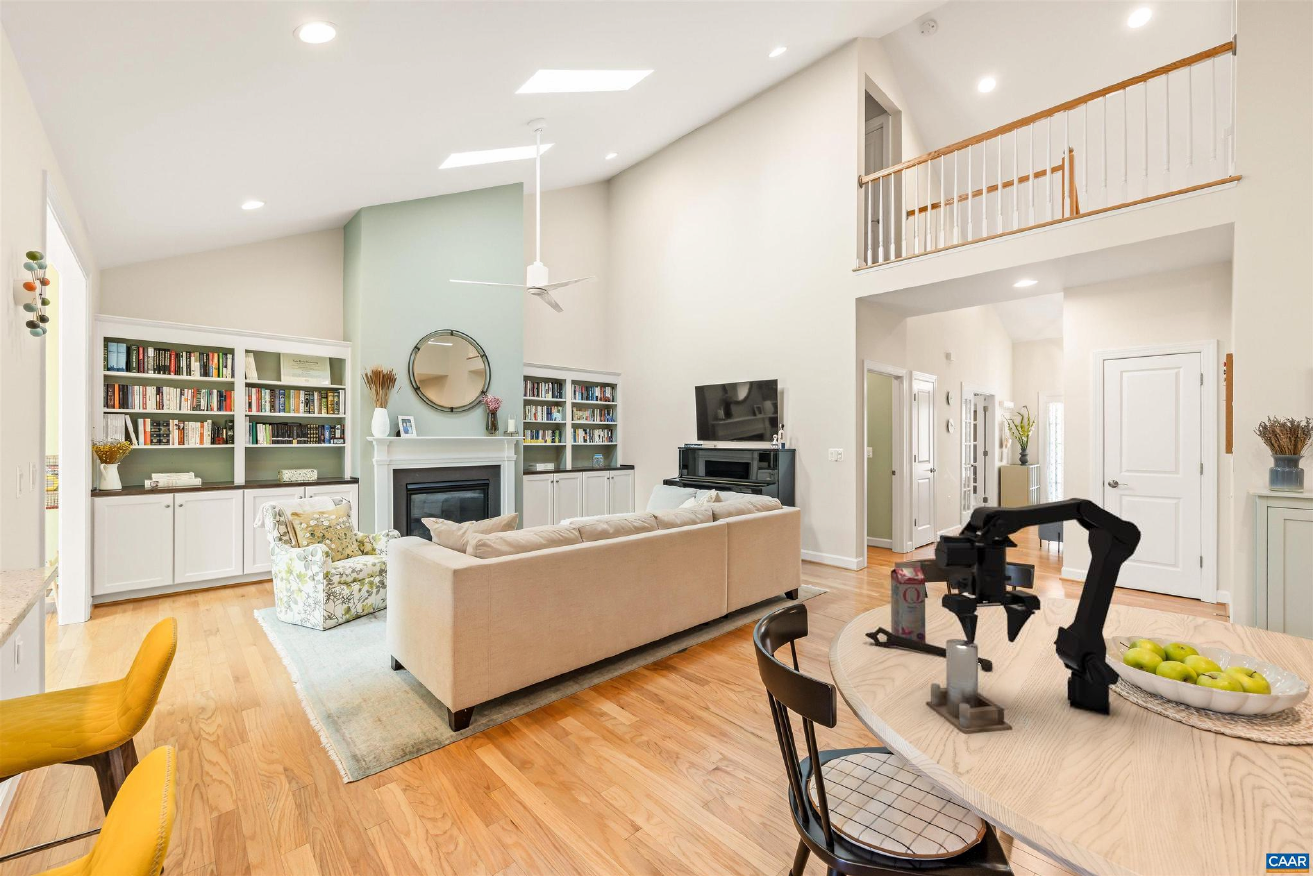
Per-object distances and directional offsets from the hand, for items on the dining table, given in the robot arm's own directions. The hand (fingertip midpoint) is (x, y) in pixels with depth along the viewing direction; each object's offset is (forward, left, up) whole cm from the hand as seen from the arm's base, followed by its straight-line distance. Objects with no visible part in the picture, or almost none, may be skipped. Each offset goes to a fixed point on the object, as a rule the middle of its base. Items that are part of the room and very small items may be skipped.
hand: (990, 643), depth 120 cm
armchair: (+3, +8, -13) cm, 16 cm away
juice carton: (+24, -27, -13) cm, 38 cm away
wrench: (+18, -20, -14) cm, 30 cm away
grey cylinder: (+4, +9, -12) cm, 16 cm away
